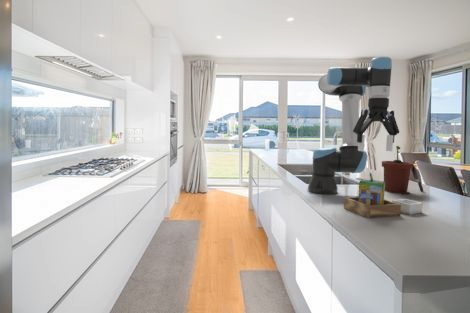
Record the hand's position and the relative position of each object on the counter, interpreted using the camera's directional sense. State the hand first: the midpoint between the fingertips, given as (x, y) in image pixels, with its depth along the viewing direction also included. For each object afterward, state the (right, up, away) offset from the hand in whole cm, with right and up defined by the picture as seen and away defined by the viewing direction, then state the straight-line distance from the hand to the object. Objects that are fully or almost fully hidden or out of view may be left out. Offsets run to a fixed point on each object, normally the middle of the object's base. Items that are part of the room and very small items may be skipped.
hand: (375, 151), depth 129 cm
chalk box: (-1, -24, +1) cm, 24 cm away
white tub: (+15, -25, +4) cm, 29 cm away
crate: (-1, -25, +1) cm, 25 cm away
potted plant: (+35, -22, +47) cm, 62 cm away
